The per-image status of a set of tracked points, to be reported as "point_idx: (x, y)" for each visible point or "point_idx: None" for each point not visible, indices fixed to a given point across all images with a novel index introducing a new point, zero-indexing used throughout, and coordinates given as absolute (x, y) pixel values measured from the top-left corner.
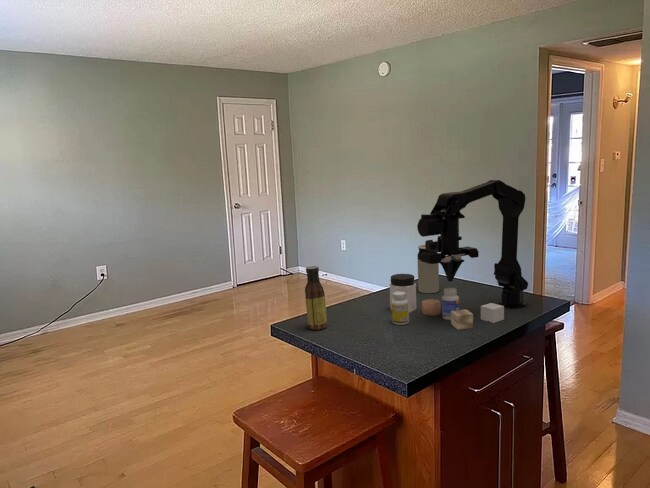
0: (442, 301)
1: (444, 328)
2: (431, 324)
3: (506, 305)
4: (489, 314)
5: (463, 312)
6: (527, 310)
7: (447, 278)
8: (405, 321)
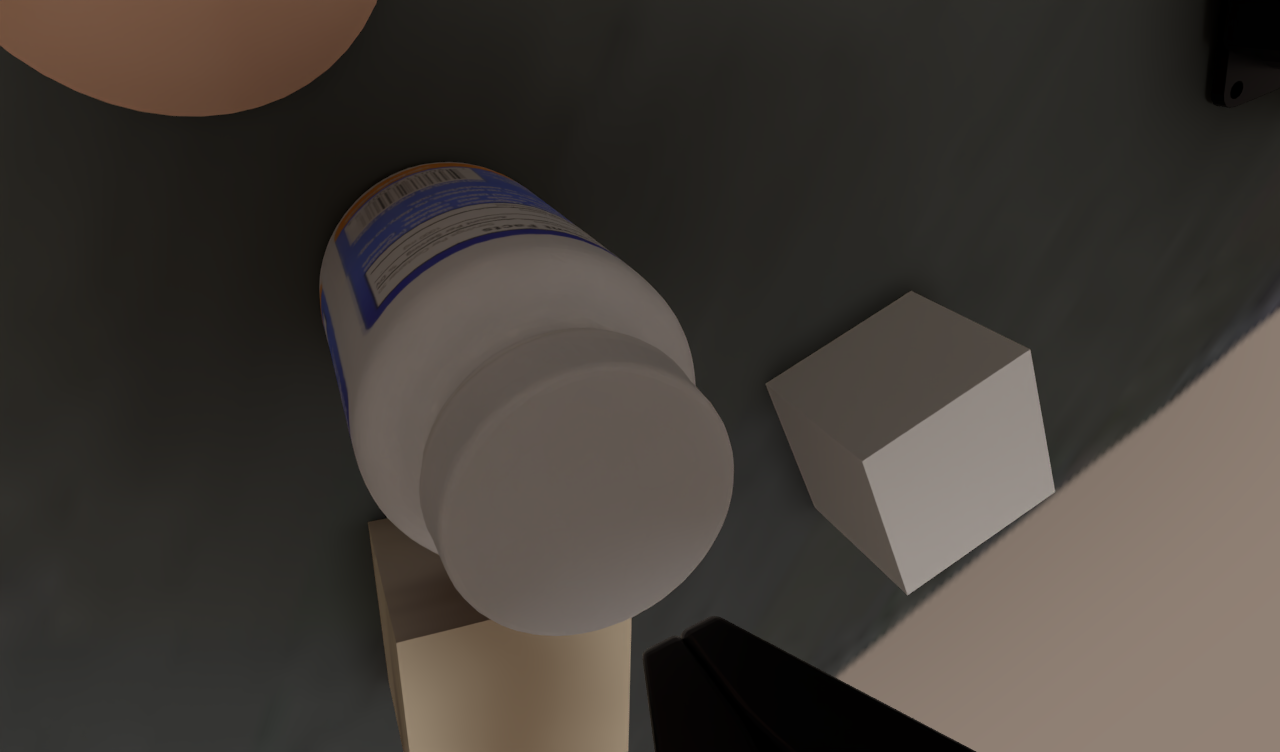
0: (345, 407)
1: (237, 654)
2: (67, 512)
3: (1225, 36)
4: (847, 514)
5: (545, 700)
6: (1255, 196)
7: (653, 728)
8: None
